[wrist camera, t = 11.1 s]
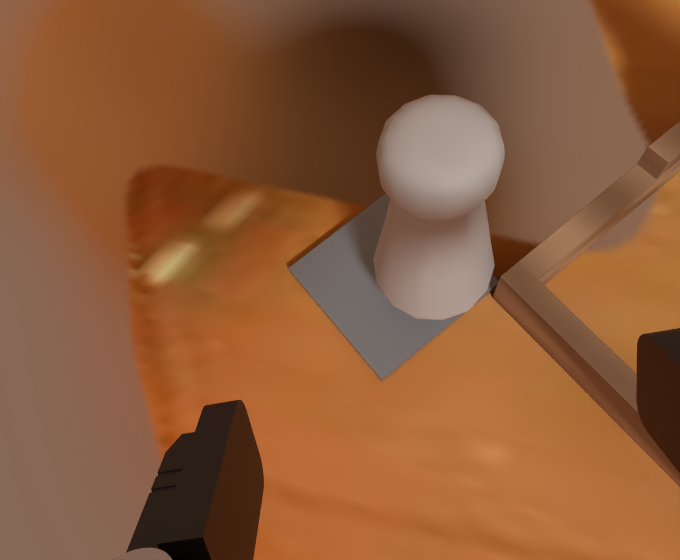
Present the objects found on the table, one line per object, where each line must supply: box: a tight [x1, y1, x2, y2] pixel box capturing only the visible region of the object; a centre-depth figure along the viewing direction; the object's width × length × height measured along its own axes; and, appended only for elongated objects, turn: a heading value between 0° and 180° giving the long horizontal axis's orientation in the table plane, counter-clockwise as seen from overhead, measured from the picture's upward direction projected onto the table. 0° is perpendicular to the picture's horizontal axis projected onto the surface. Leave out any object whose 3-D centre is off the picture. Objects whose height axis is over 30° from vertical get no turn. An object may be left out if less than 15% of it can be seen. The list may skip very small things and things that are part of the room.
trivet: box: [288, 193, 499, 381], centre depth 31 cm, size 8×8×1 cm
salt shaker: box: [373, 95, 505, 320], centre depth 25 cm, size 6×6×13 cm
